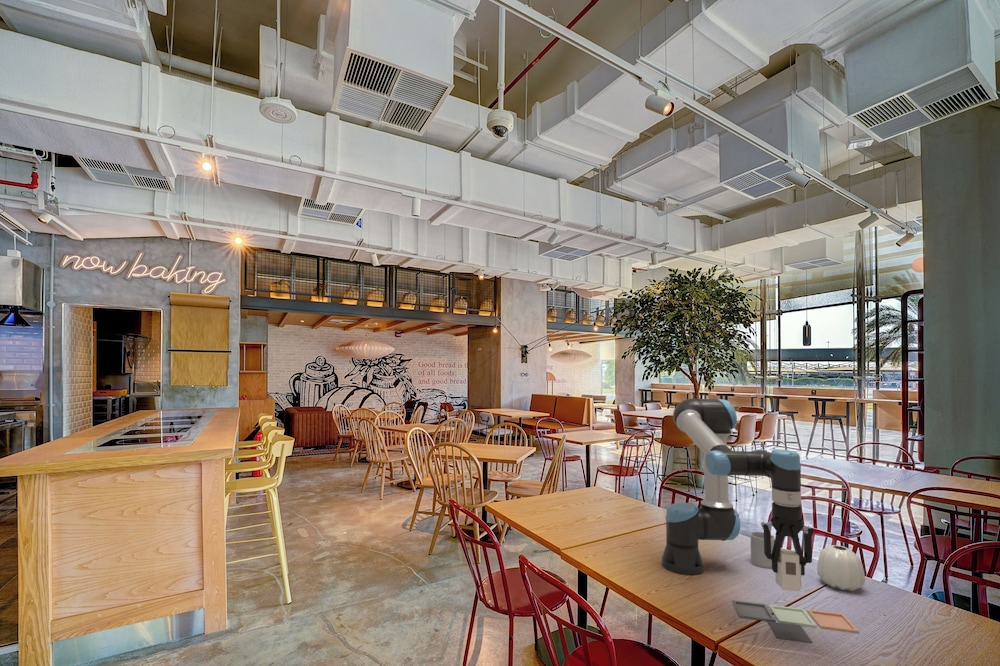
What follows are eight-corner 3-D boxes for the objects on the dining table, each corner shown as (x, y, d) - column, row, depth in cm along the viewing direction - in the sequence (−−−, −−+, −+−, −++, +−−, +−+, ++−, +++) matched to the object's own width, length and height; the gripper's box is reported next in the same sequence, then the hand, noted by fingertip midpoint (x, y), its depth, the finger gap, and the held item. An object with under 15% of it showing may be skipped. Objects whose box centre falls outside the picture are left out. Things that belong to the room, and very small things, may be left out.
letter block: (782, 589, 138) (781, 554, 139) (777, 582, 142) (776, 548, 143) (800, 591, 137) (799, 555, 138) (794, 584, 141) (793, 550, 142)
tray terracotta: (820, 629, 141) (820, 625, 141) (807, 612, 151) (807, 609, 151) (859, 634, 139) (859, 631, 139) (843, 617, 149) (843, 613, 149)
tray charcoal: (739, 618, 147) (739, 615, 147) (732, 603, 156) (732, 600, 156) (775, 623, 144) (775, 620, 144) (765, 607, 154) (765, 604, 154)
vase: (852, 598, 161) (850, 557, 162) (809, 581, 174) (808, 543, 174) (873, 590, 168) (872, 551, 168) (830, 574, 180) (829, 538, 181)
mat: (777, 639, 136) (777, 637, 136) (767, 623, 144) (767, 621, 144) (812, 644, 133) (812, 642, 134) (800, 627, 142) (800, 625, 142)
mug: (766, 569, 183) (766, 540, 184) (746, 561, 190) (745, 533, 191) (785, 564, 189) (784, 535, 189) (764, 556, 196) (763, 529, 197)
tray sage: (779, 624, 144) (779, 620, 144) (769, 607, 154) (769, 604, 154) (816, 628, 142) (816, 625, 142) (803, 612, 151) (803, 608, 151)
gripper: (757, 504, 140) (759, 586, 138) (825, 509, 136) (827, 594, 134) (750, 497, 147) (752, 575, 145) (814, 502, 143) (816, 583, 141)
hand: (788, 584), depth 140 cm, fingers closed on letter block, 4 cm apart
